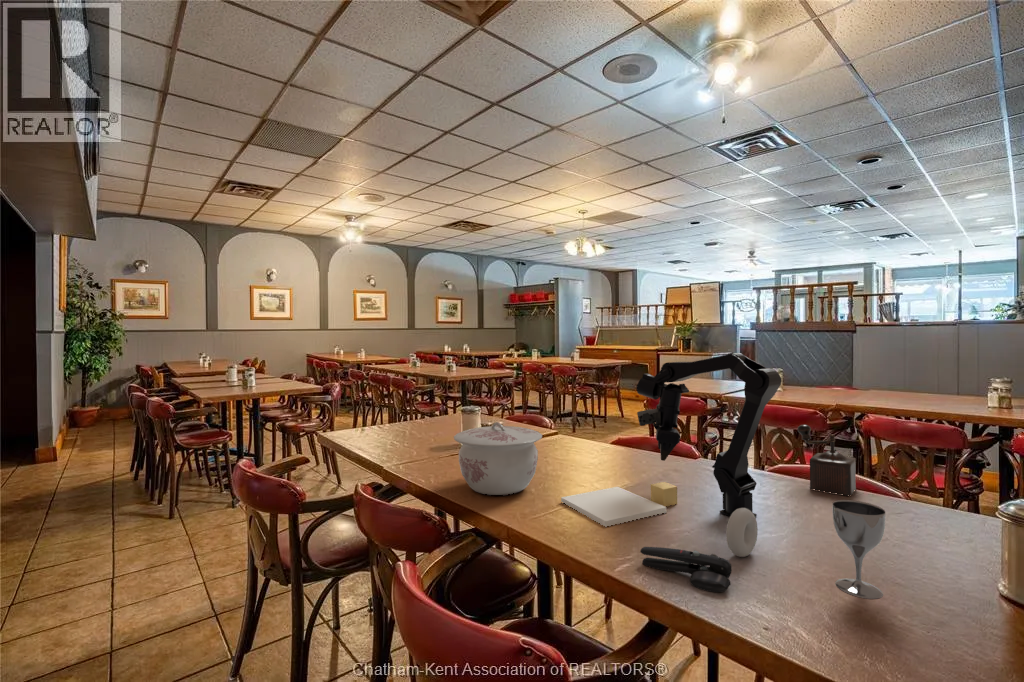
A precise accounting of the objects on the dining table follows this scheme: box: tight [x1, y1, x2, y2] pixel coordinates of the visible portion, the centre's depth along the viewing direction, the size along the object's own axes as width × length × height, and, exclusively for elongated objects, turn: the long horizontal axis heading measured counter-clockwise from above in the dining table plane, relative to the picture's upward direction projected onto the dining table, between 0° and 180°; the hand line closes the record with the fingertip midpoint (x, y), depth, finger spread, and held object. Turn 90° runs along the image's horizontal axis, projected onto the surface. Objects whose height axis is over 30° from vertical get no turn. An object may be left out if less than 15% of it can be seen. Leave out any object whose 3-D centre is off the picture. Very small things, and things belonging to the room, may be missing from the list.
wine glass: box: [831, 499, 887, 600], centre depth 89 cm, size 8×8×15 cm
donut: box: [725, 508, 759, 558], centre depth 103 cm, size 10×4×10 cm, turn 131°
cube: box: [650, 481, 678, 507], centre depth 135 cm, size 5×5×5 cm
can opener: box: [639, 546, 732, 593], centre depth 95 cm, size 18×7×6 cm, turn 50°
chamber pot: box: [453, 421, 543, 496], centre depth 150 cm, size 28×28×21 cm
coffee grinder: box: [797, 424, 857, 497], centre depth 147 cm, size 16×11×18 cm
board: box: [560, 486, 667, 528], centre depth 132 cm, size 20×20×2 cm
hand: (661, 454), depth 144 cm, fingers open, 9 cm apart
